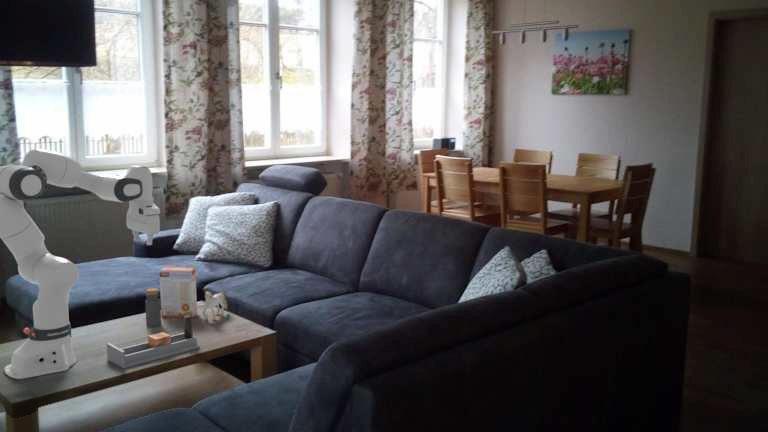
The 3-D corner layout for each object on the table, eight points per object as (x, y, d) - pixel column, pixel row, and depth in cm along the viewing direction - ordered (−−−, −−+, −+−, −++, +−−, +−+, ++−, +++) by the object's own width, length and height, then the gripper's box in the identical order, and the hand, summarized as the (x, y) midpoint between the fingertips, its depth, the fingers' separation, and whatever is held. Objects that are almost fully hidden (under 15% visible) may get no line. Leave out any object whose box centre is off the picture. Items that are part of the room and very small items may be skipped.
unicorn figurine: (198, 325, 289) (197, 294, 287) (212, 311, 308) (211, 282, 306) (215, 326, 289) (214, 294, 287) (228, 312, 308) (227, 282, 306)
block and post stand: (155, 352, 254) (154, 327, 253) (148, 348, 258) (147, 323, 257) (196, 341, 266) (195, 317, 265) (188, 338, 270) (187, 314, 268)
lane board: (122, 368, 242) (122, 352, 242) (107, 359, 251) (106, 343, 250) (199, 347, 264) (199, 332, 263) (183, 339, 272) (182, 325, 271)
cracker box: (197, 314, 305) (196, 267, 301) (192, 318, 299) (190, 270, 296) (166, 312, 306) (164, 266, 303) (160, 317, 300) (158, 269, 297)
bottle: (164, 323, 292) (162, 288, 289) (155, 327, 286) (154, 292, 284) (151, 322, 293) (150, 287, 291) (143, 326, 288) (141, 290, 285)
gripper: (121, 205, 274) (123, 240, 276) (146, 211, 260) (148, 248, 262) (136, 204, 278) (138, 238, 281) (162, 209, 264) (163, 245, 267)
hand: (143, 243), depth 271 cm, fingers open, 8 cm apart
